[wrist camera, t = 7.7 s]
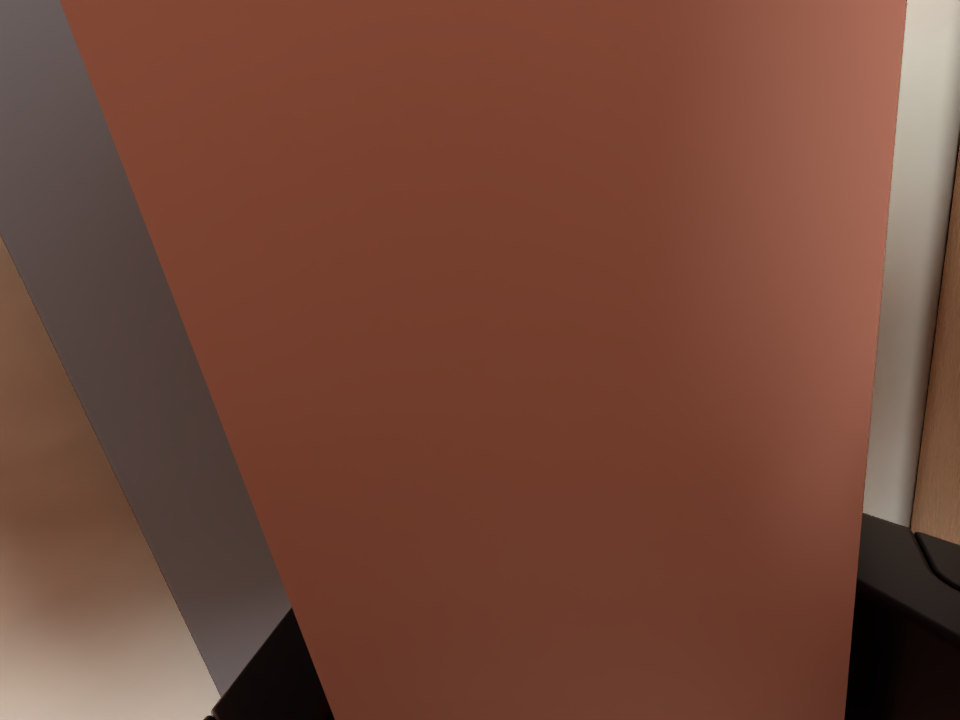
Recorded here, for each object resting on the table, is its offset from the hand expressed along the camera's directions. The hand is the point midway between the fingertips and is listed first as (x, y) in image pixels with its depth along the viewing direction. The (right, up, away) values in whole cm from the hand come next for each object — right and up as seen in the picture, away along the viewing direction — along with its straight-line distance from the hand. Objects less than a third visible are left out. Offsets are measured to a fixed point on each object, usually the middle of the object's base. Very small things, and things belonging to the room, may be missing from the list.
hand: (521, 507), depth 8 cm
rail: (0, 0, 0) cm, 0 cm away
